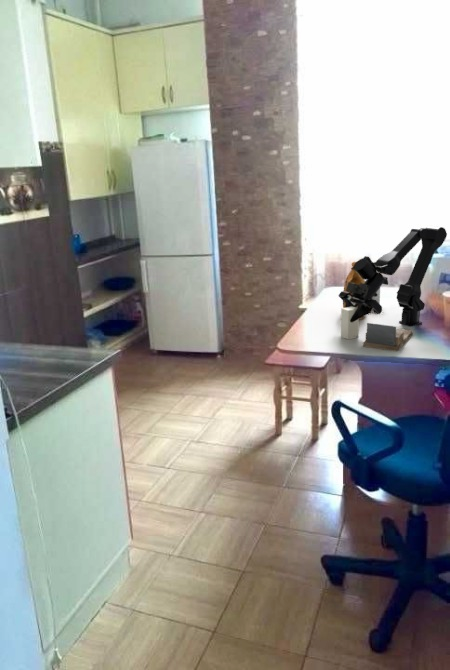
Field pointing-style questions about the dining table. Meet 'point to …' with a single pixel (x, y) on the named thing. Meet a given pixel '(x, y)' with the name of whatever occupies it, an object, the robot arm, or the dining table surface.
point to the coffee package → (353, 278)
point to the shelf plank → (395, 348)
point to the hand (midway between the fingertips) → (347, 320)
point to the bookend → (381, 334)
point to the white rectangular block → (349, 323)
